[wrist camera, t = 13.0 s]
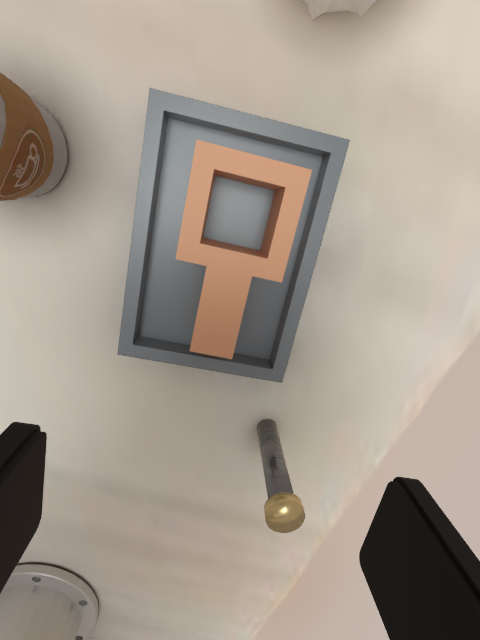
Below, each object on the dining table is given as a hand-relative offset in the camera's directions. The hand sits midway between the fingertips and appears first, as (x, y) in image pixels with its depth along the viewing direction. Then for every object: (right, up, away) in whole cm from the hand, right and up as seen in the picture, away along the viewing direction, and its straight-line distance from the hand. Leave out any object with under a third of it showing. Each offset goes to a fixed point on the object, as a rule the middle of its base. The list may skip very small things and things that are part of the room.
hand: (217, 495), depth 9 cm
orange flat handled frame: (0, +10, +17) cm, 20 cm away
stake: (+3, -5, +23) cm, 24 cm away
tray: (-1, +10, +18) cm, 20 cm away
